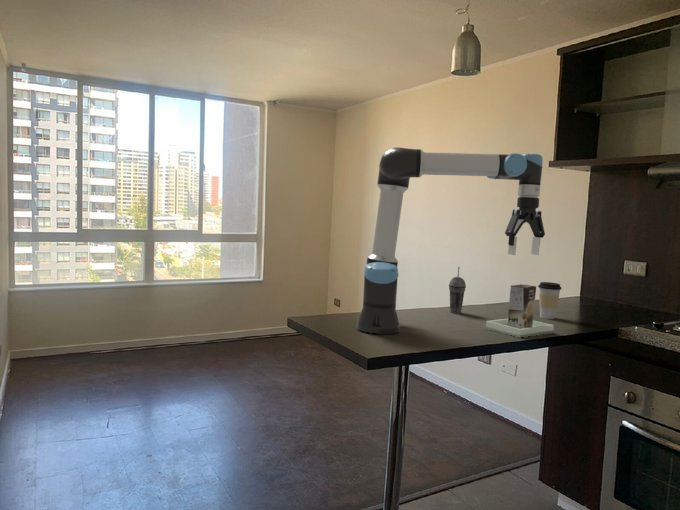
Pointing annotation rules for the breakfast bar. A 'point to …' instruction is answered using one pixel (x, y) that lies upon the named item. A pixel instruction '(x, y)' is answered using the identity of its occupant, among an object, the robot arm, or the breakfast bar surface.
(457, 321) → the breakfast bar surface
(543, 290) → the coffee cup
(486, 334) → the breakfast bar surface
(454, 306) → the beverage cup
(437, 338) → the breakfast bar surface
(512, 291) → the coffee box
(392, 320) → the robot arm
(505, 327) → the sage tray
